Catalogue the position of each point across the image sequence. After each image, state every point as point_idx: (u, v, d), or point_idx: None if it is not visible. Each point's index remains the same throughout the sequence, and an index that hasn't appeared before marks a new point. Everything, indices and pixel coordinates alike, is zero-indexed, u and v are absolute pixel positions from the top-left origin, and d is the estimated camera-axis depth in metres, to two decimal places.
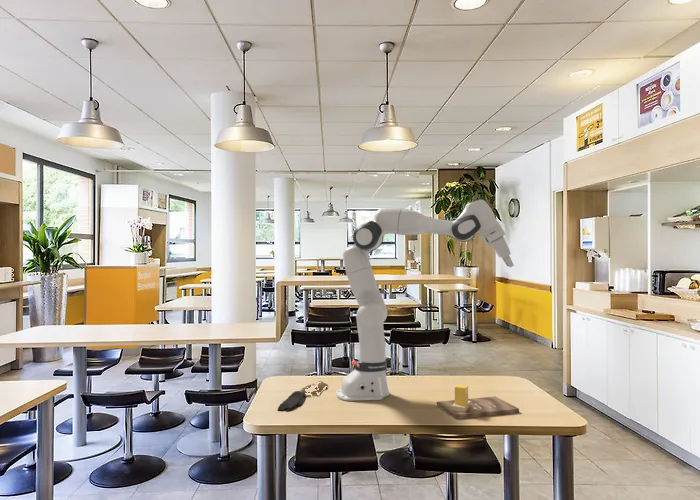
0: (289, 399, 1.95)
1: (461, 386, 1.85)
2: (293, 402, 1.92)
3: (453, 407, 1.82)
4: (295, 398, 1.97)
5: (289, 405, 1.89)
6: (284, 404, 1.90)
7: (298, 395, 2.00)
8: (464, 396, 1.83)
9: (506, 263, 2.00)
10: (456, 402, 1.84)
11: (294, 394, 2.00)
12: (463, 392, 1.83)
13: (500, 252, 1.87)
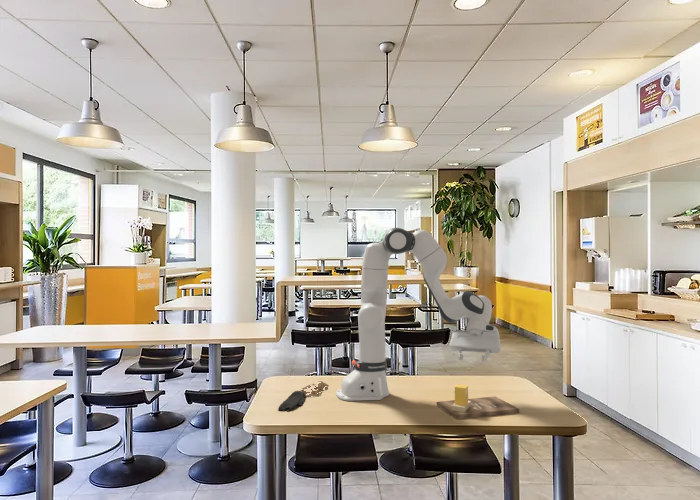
0: (289, 399, 1.95)
1: (461, 386, 1.85)
2: (293, 402, 1.92)
3: (453, 407, 1.82)
4: (295, 398, 1.97)
5: (290, 405, 1.89)
6: (284, 404, 1.90)
7: (298, 395, 2.00)
8: (464, 396, 1.83)
9: (462, 355, 1.99)
10: (456, 402, 1.84)
11: (294, 394, 2.00)
12: (463, 392, 1.83)
13: (498, 344, 1.95)
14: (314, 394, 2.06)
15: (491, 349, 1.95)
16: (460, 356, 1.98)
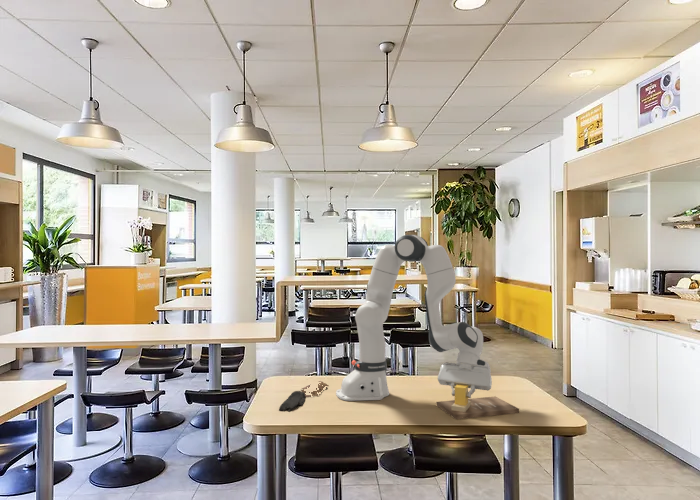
0: (289, 399, 1.95)
1: (461, 386, 1.85)
2: (294, 402, 1.92)
3: (453, 407, 1.82)
4: (295, 398, 1.97)
5: (290, 405, 1.89)
6: (285, 404, 1.90)
7: (298, 395, 2.00)
8: (464, 396, 1.83)
9: None
10: (456, 402, 1.84)
11: (294, 394, 2.00)
12: (463, 392, 1.83)
13: (490, 381, 1.84)
14: (314, 394, 2.06)
15: (482, 386, 1.84)
16: (454, 392, 1.86)
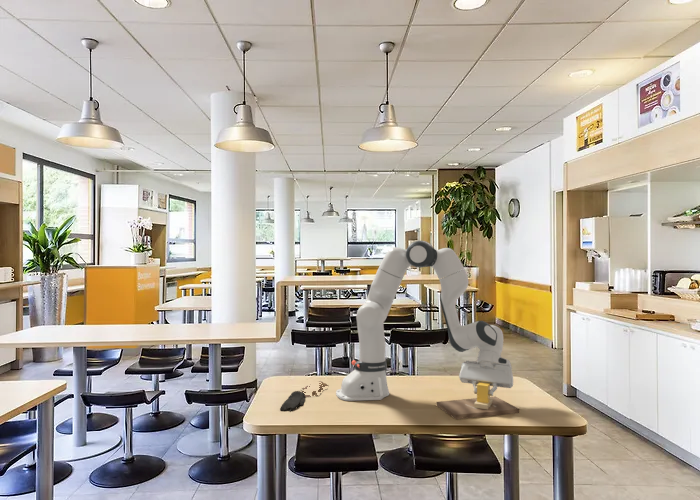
0: (290, 399, 1.95)
1: (483, 384, 1.87)
2: (295, 402, 1.92)
3: (476, 405, 1.84)
4: (295, 398, 1.97)
5: (291, 405, 1.89)
6: (286, 404, 1.90)
7: (298, 395, 2.00)
8: (486, 394, 1.85)
9: None
10: (478, 400, 1.86)
11: (294, 394, 2.00)
12: (485, 390, 1.85)
13: (512, 378, 1.86)
14: (314, 394, 2.06)
15: (504, 384, 1.86)
16: (476, 390, 1.88)
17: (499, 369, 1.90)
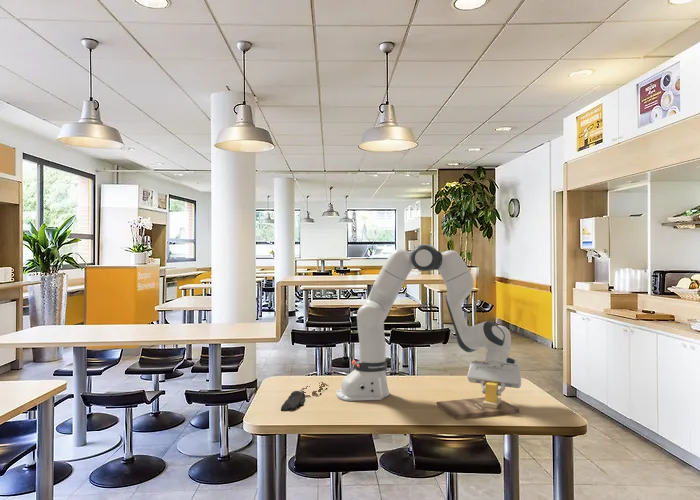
0: (290, 399, 1.96)
1: (491, 383, 1.89)
2: (295, 402, 1.92)
3: (484, 404, 1.86)
4: (296, 398, 1.97)
5: (292, 405, 1.89)
6: (286, 404, 1.90)
7: (298, 395, 2.00)
8: (495, 393, 1.86)
9: None
10: (487, 399, 1.88)
11: (294, 394, 2.01)
12: (494, 389, 1.87)
13: (520, 379, 1.87)
14: (314, 394, 2.06)
15: (512, 384, 1.87)
16: (484, 390, 1.89)
17: (507, 369, 1.91)
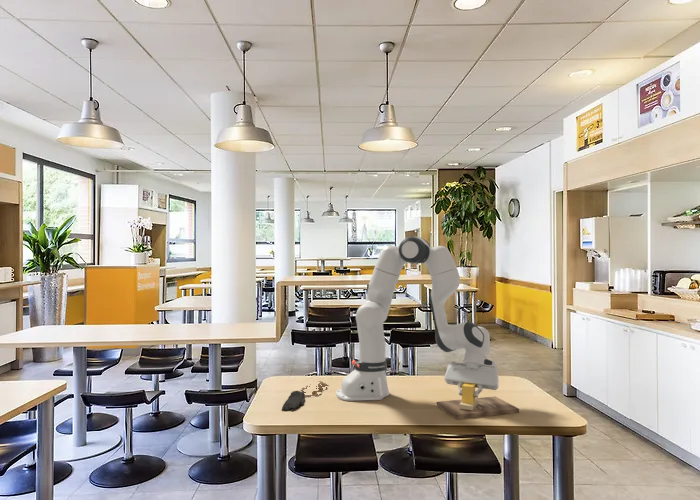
0: (290, 399, 1.96)
1: (468, 385, 1.86)
2: (296, 402, 1.93)
3: (461, 405, 1.83)
4: (296, 398, 1.97)
5: (293, 405, 1.90)
6: (287, 404, 1.90)
7: (298, 395, 2.00)
8: (471, 395, 1.84)
9: None
10: (463, 401, 1.85)
11: (294, 394, 2.01)
12: (470, 391, 1.84)
13: (497, 380, 1.84)
14: (314, 394, 2.06)
15: (489, 385, 1.84)
16: (461, 392, 1.87)
17: (485, 371, 1.89)
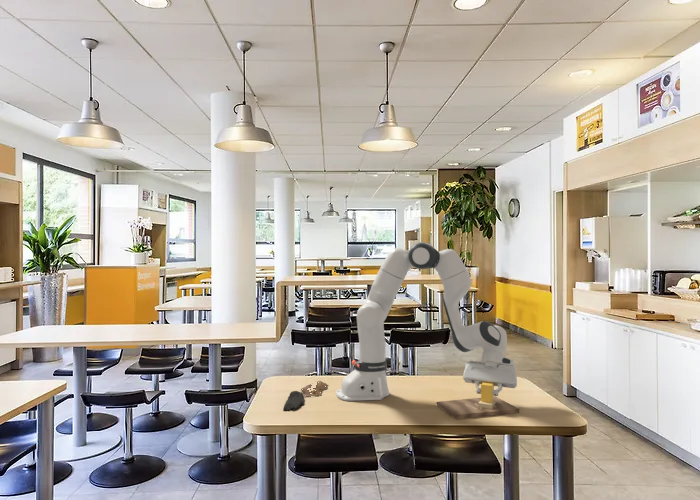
0: (291, 399, 1.96)
1: (487, 384, 1.88)
2: (296, 402, 1.93)
3: (480, 404, 1.85)
4: (296, 398, 1.97)
5: (294, 405, 1.90)
6: (288, 404, 1.90)
7: (297, 395, 2.01)
8: (490, 393, 1.86)
9: (480, 388, 1.89)
10: (482, 399, 1.87)
11: (293, 394, 2.01)
12: (489, 389, 1.86)
13: (515, 379, 1.87)
14: (315, 394, 2.06)
15: (508, 384, 1.87)
16: (478, 390, 1.89)
17: (503, 369, 1.91)
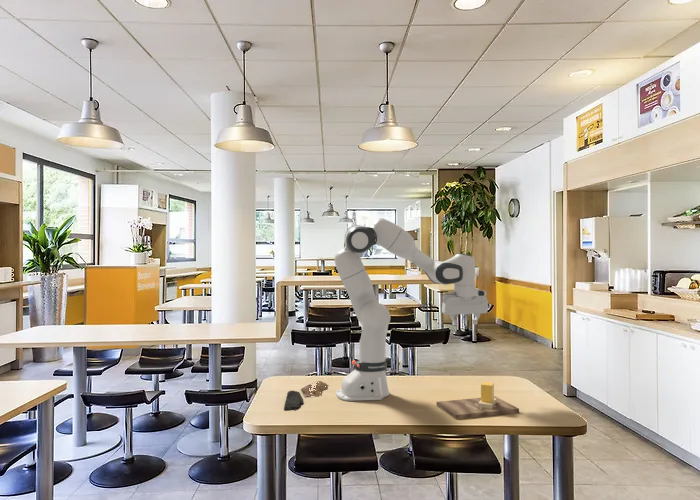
0: (289, 399, 1.96)
1: (487, 384, 1.88)
2: (296, 401, 1.94)
3: (480, 404, 1.85)
4: (294, 397, 1.98)
5: (294, 404, 1.91)
6: (288, 404, 1.91)
7: (295, 394, 2.02)
8: (490, 393, 1.86)
9: None
10: (482, 399, 1.87)
11: (291, 394, 2.01)
12: (489, 389, 1.86)
13: None
14: (315, 394, 2.06)
15: None
16: (456, 323, 2.07)
17: (477, 300, 2.09)
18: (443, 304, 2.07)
